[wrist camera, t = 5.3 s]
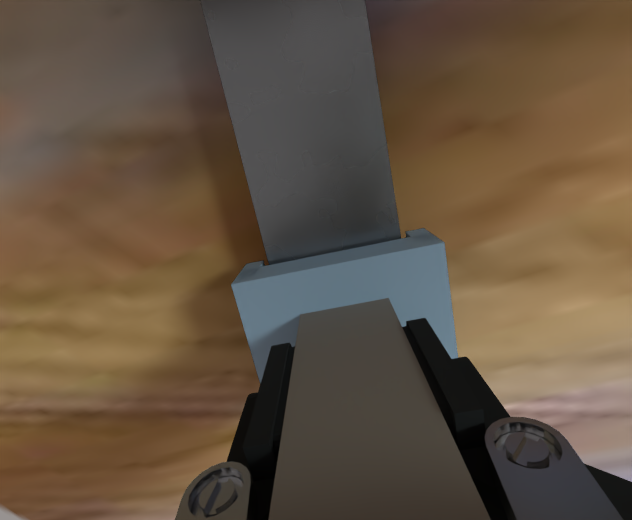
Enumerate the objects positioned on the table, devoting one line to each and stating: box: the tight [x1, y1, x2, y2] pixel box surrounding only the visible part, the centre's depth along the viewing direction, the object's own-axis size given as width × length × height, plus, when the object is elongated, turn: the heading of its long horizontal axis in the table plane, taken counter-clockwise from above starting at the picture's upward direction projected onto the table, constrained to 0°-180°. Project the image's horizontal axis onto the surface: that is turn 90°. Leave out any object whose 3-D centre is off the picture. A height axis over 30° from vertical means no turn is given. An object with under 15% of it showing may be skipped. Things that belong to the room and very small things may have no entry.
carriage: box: [231, 228, 491, 520], centre depth 9 cm, size 6×7×11 cm
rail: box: [200, 0, 401, 265], centre depth 13 cm, size 21×5×3 cm, turn 12°
